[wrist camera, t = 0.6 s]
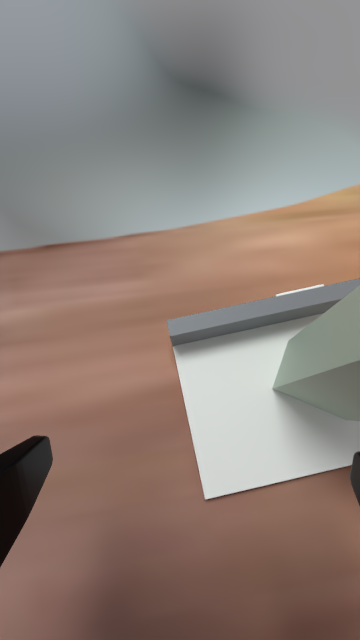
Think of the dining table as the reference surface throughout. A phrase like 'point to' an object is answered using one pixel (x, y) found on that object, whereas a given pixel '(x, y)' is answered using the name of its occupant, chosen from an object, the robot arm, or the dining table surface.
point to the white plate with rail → (256, 393)
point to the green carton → (326, 361)
